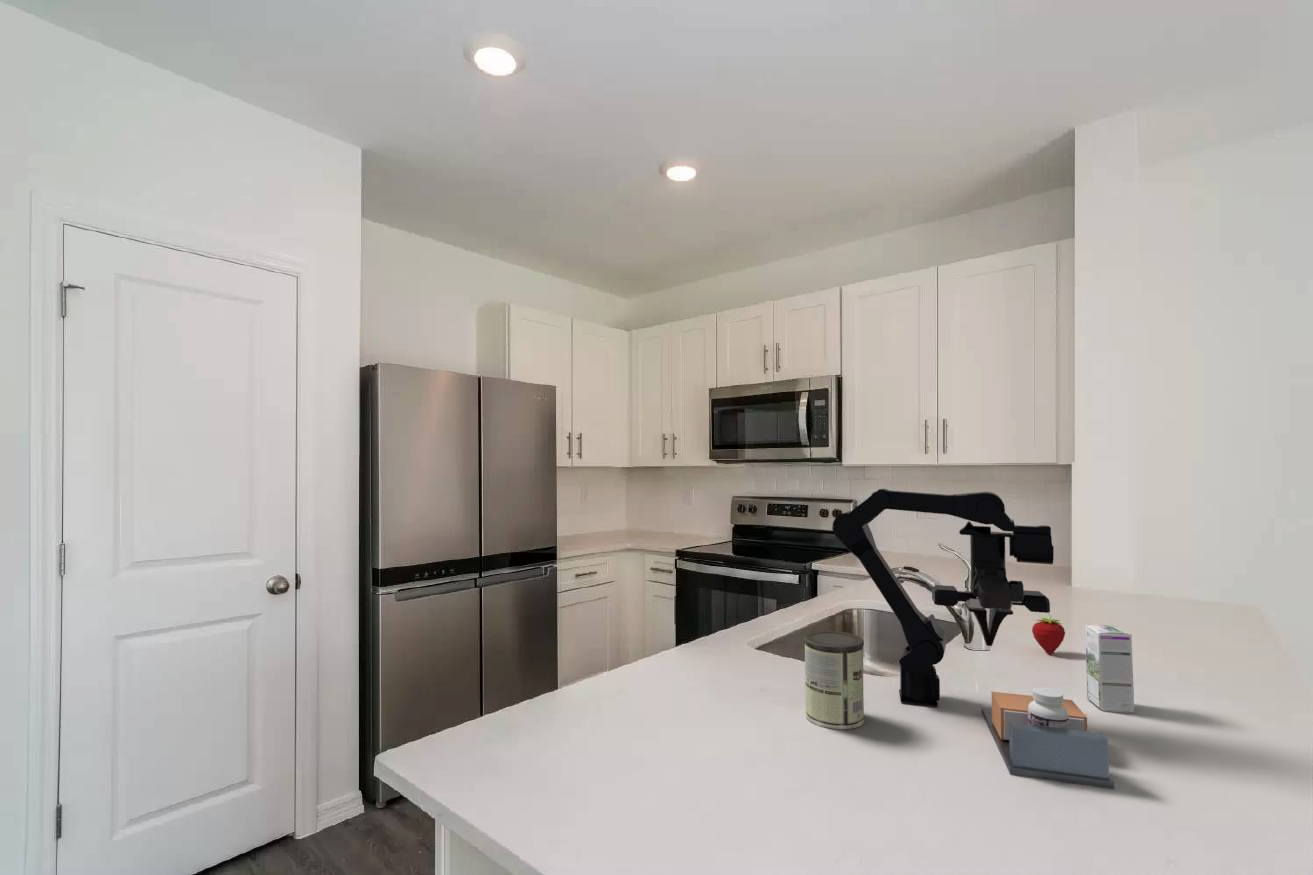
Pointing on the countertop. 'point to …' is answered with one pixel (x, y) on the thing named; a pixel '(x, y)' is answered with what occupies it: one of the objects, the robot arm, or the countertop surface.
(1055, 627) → the strawberry
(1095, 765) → the base
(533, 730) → the countertop surface
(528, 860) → the countertop surface
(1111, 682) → the syrup box
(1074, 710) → the block
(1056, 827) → the countertop surface
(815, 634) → the coffee can
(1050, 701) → the pill bottle
